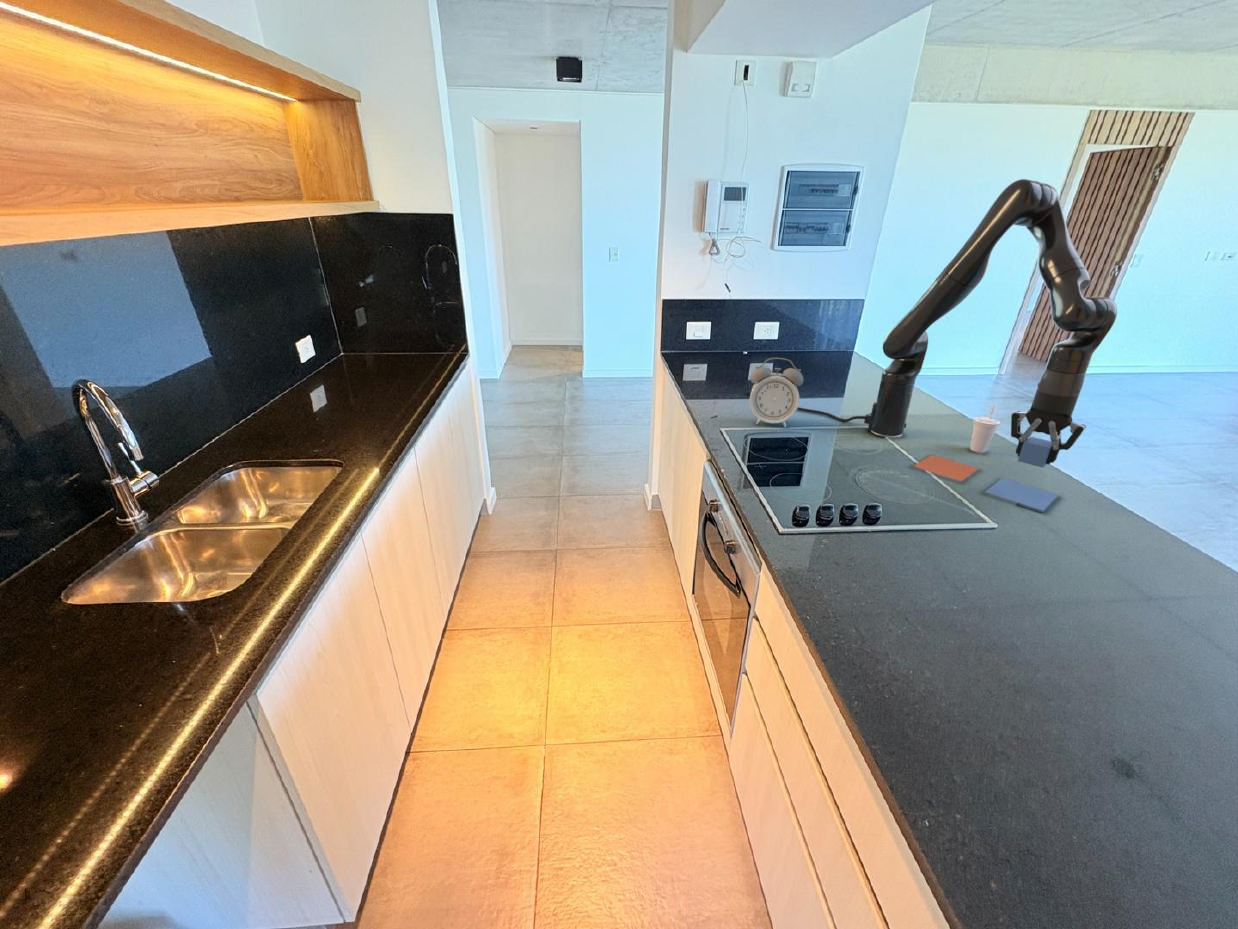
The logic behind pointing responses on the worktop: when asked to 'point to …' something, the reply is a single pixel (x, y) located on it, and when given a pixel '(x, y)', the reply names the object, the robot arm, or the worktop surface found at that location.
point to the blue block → (1035, 451)
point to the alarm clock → (775, 393)
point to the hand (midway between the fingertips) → (1033, 459)
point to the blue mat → (1023, 495)
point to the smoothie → (983, 432)
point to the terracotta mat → (946, 467)
